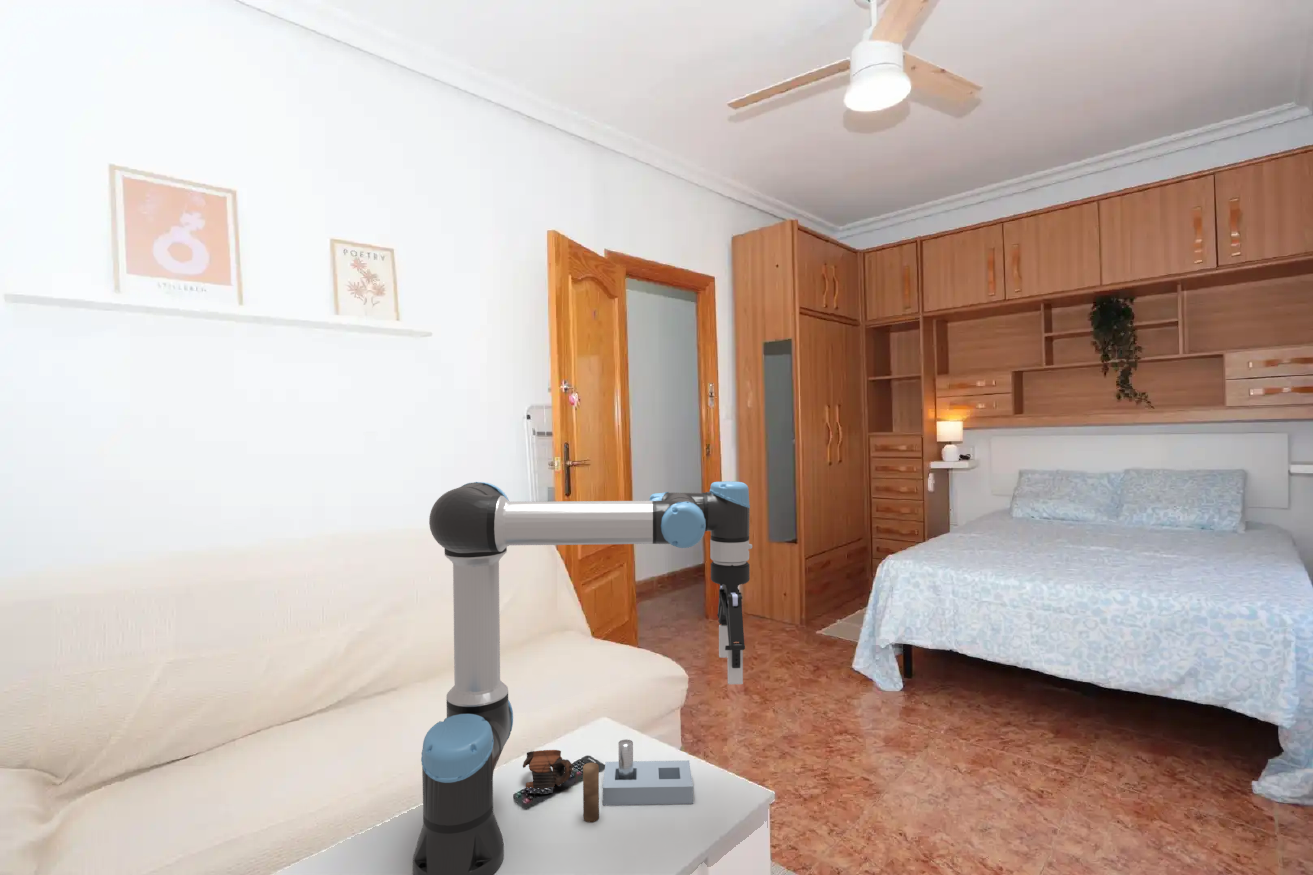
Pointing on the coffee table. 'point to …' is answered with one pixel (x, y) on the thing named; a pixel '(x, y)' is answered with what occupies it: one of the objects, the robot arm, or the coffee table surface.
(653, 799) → the socket block
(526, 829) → the coffee table surface
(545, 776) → the pottery mug
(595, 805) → the walnut peg
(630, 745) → the grey steel peg
